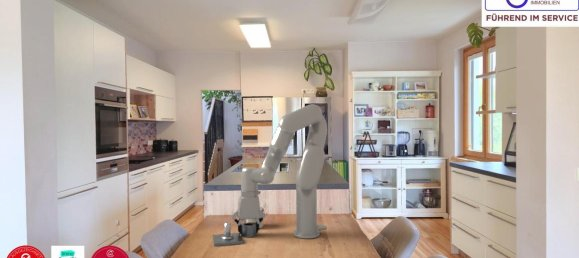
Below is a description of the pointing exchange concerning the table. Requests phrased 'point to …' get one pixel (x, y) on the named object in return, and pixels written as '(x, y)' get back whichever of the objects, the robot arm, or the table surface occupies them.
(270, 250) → the table surface
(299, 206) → the robot arm
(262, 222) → the teacup with lid
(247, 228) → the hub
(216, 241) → the shaft block
